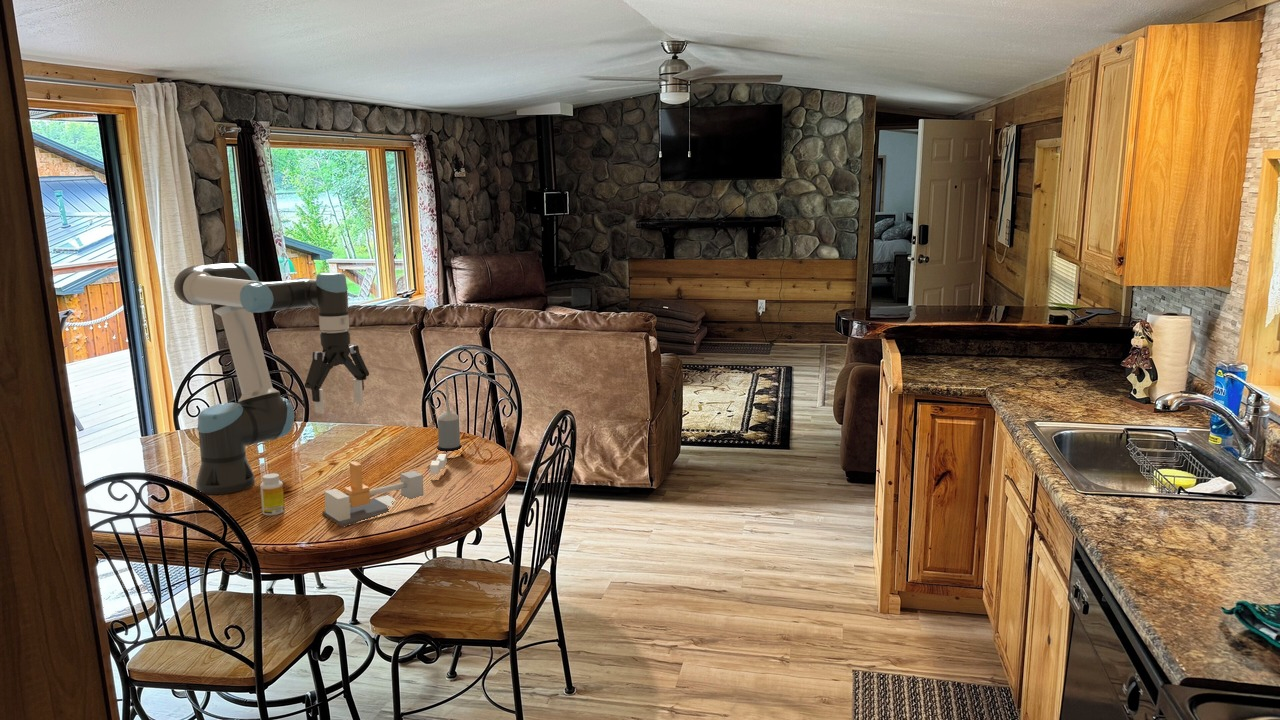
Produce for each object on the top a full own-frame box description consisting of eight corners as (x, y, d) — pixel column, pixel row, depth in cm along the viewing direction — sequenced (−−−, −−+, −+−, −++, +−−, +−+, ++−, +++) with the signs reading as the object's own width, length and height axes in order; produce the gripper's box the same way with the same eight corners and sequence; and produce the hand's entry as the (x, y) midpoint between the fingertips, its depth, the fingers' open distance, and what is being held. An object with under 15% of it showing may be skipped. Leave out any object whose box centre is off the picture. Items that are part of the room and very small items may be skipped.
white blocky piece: (441, 467, 271) (440, 449, 270) (468, 473, 265) (467, 455, 264) (405, 480, 259) (404, 461, 258) (432, 487, 253) (431, 468, 252)
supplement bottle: (288, 512, 230) (286, 475, 228) (267, 518, 226) (265, 480, 224) (279, 507, 234) (276, 470, 232) (258, 512, 230) (255, 475, 228)
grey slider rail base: (342, 527, 221) (341, 499, 219) (322, 514, 229) (321, 487, 228) (433, 503, 238) (432, 477, 237) (411, 492, 247) (410, 467, 245)
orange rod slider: (352, 507, 226) (349, 467, 224) (345, 503, 229) (342, 463, 227) (369, 503, 229) (367, 463, 227) (362, 499, 232) (360, 459, 230)
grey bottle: (440, 451, 286) (437, 376, 282) (465, 451, 286) (462, 377, 281) (433, 458, 278) (431, 382, 274) (459, 458, 278) (456, 382, 273)
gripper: (306, 338, 220) (312, 419, 224) (379, 325, 242) (383, 400, 246) (286, 336, 224) (292, 415, 228) (360, 324, 245) (364, 397, 249)
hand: (339, 407), depth 237 cm, fingers open, 13 cm apart
